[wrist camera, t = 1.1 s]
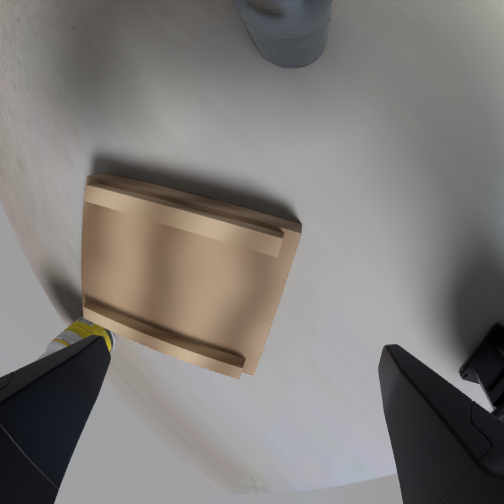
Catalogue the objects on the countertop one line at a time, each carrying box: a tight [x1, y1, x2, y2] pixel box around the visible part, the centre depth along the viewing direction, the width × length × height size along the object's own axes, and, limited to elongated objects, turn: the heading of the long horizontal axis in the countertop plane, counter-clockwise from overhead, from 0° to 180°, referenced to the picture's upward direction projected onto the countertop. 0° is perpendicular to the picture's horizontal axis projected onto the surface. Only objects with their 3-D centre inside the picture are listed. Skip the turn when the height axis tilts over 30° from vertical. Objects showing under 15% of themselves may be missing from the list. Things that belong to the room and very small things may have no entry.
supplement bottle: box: [38, 315, 115, 360], centre depth 24 cm, size 5×5×8 cm
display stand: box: [82, 173, 302, 379], centre depth 22 cm, size 16×12×4 cm
